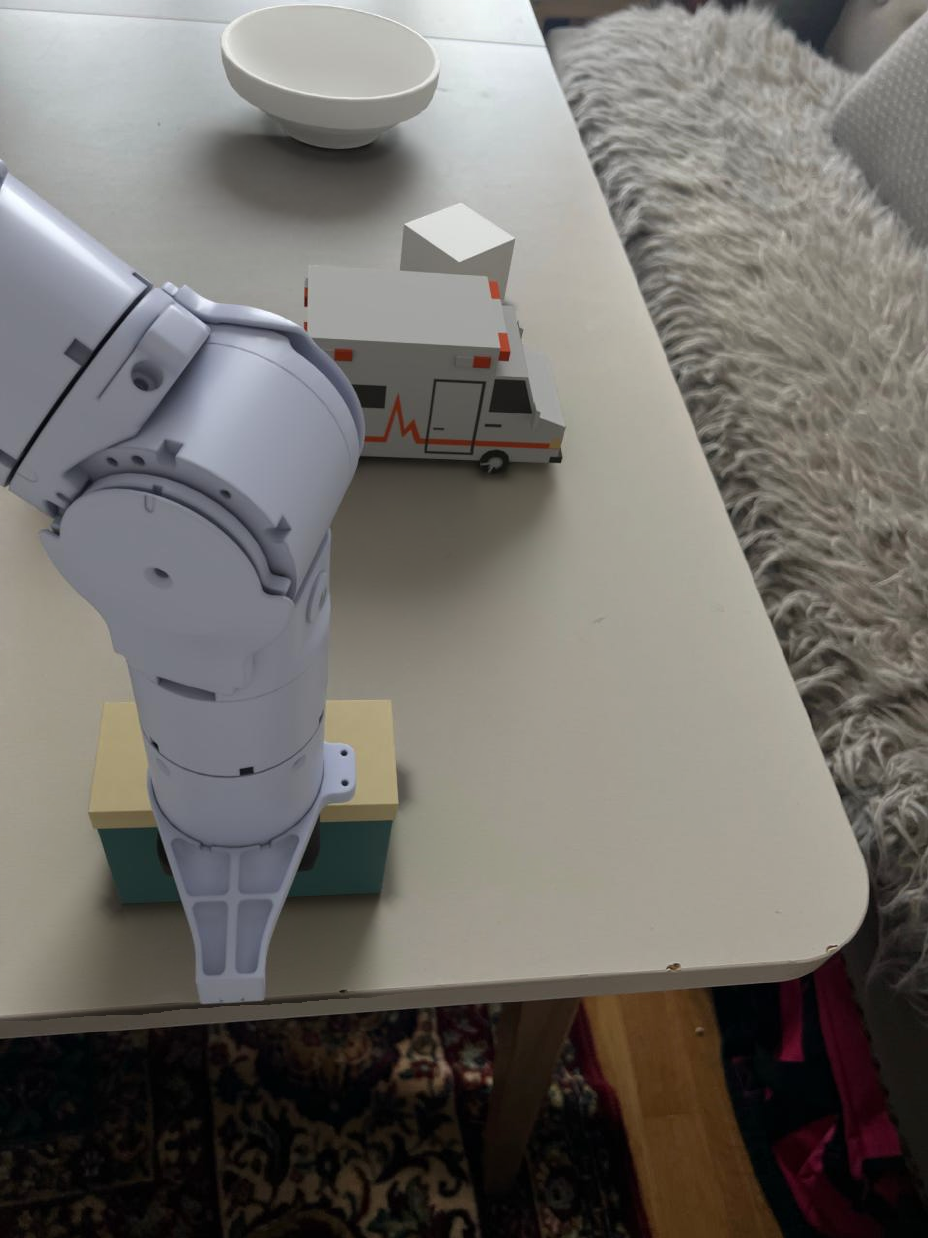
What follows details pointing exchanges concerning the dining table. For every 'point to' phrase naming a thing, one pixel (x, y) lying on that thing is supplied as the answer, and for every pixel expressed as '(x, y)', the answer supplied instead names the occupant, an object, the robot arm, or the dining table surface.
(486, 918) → the dining table surface
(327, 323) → the toy vehicle
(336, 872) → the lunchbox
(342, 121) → the bowl
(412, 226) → the white cube
